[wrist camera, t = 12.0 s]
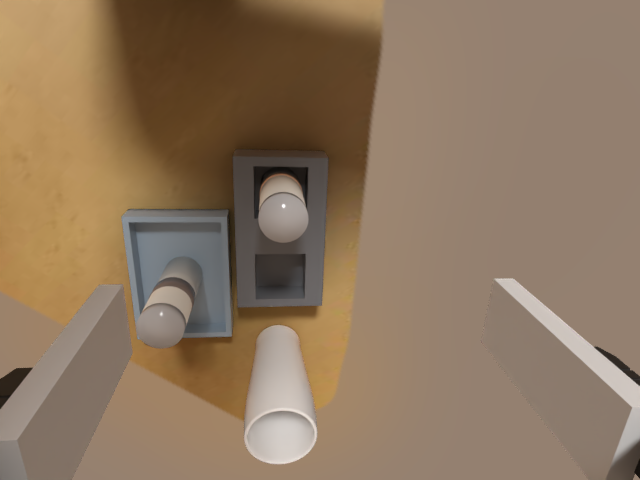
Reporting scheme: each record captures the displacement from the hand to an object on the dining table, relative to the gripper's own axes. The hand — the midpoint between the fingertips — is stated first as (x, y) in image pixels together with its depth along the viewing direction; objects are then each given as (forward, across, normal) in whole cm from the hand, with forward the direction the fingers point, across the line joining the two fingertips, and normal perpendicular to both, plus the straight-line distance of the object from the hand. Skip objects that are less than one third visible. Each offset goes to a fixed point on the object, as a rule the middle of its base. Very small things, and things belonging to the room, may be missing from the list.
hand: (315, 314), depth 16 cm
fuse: (+31, 0, -3) cm, 31 cm away
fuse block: (+32, 0, -8) cm, 33 cm away
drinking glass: (+32, -1, -23) cm, 39 cm away
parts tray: (+32, -11, -13) cm, 36 cm away
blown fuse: (+31, -11, -13) cm, 35 cm away
